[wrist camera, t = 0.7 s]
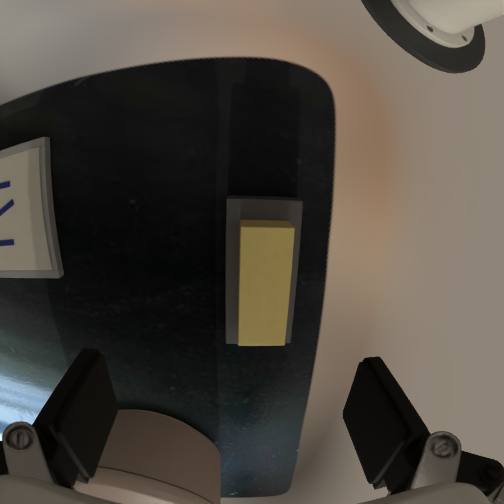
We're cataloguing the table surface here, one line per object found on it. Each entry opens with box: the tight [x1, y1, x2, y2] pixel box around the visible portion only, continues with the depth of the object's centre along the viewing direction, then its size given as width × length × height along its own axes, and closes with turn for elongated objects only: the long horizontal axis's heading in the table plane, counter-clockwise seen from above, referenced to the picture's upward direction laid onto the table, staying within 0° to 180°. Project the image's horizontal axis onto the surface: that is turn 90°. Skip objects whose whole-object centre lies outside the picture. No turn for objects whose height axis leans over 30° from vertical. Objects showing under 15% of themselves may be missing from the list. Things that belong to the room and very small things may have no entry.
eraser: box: [226, 195, 303, 346], centre depth 23 cm, size 12×6×5 cm, turn 178°
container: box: [74, 409, 221, 504], centre depth 26 cm, size 18×18×12 cm
